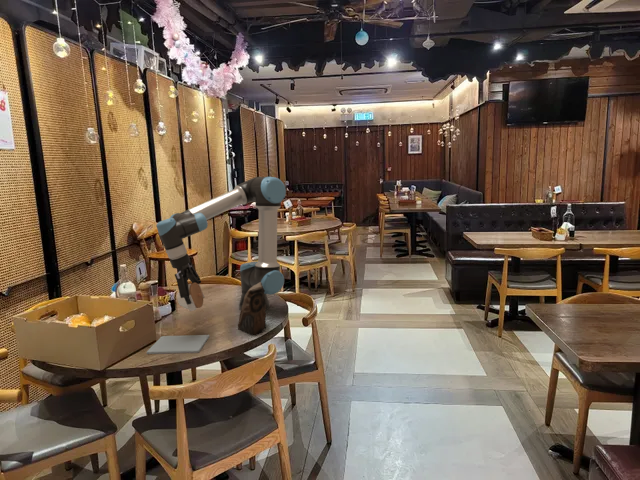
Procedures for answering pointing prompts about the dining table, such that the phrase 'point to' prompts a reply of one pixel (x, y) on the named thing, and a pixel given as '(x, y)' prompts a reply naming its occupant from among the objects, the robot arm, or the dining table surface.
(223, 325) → the dining table surface
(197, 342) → the mat
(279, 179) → the robot arm
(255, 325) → the owl
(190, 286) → the lidded jar
